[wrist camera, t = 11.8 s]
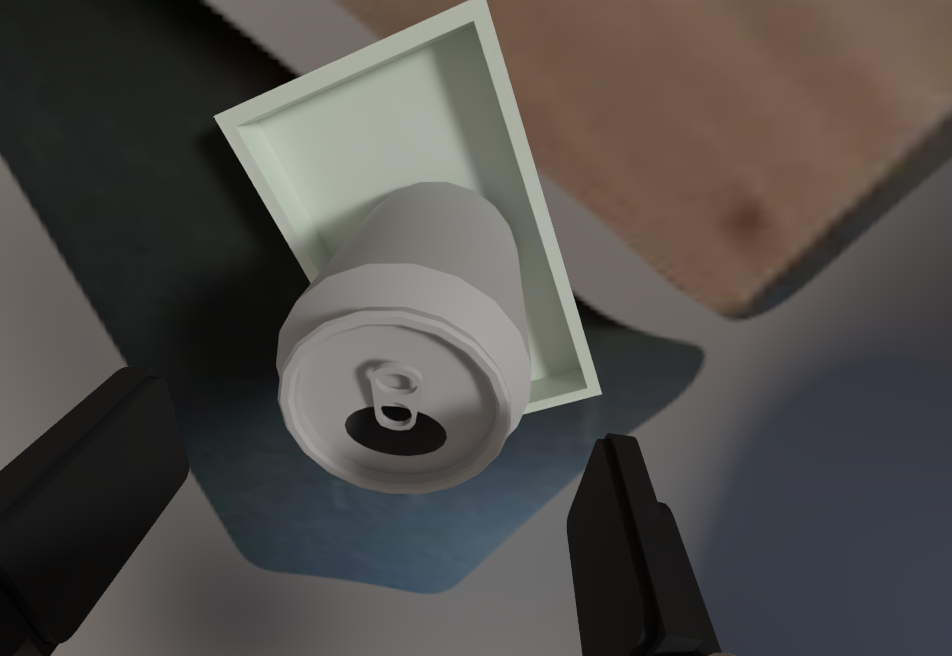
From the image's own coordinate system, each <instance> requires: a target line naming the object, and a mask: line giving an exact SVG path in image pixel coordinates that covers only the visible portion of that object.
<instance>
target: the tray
mask: <svg viewBox="0 0 952 656" xmlns="http://www.w3.org/2000/svg"><path fill="white" fill-rule="evenodd" d="M214 118H215V119H216V121H217V123H218V125H219V126H220V128H221V130H222V131H223V133H224V135H225V137H226V138H227V140H228V142H229V143H230V145H231V147H232V149H233V150H234V152H235V154H236V156H237V157H238V159H239V161H240V162H241V164H242V166H243V168H244V169H245V171H246V173H247V174H248V176H249V178H250V180H251V181H252V183H253V185H254V186H255V188H256V190H257V192H258V193H259V195H260V197H261V198H262V200H263V202H264V204H265V205H266V207H267V209H268V210H269V212H270V214H271V216H272V217H273V219H274V221H275V222H276V224H277V226H278V228H279V229H280V231H281V233H282V234H283V236H284V238H285V240H286V241H287V243H288V245H289V247H290V248H291V250H292V252H293V253H294V255H295V257H296V259H297V260H298V262H299V264H300V265H301V267H302V269H303V271H304V272H305V274H306V276H307V277H308V279H309V281H310V283H312V282H313V281H314V280H315V278H316V277H317V276H318V275H319V274H320V272H321V271H322V270H323V269H324V268H325V266H326V265H327V264H328V263H329V262H330V260H331V259H332V258H333V257H334V256H335V254H336V253H337V252H338V251H339V250H340V248H341V247H342V246H343V245H344V244H345V242H346V241H347V240H348V239H349V238H350V236H351V235H352V234H353V233H354V232H355V230H356V229H357V228H358V227H359V226H360V224H361V223H362V222H363V221H364V220H365V218H366V217H367V216H368V215H369V214H370V212H371V211H372V210H373V209H374V208H375V207H376V206H377V205H378V204H379V203H381V202H382V201H383V200H384V199H385V198H387V197H388V196H389V195H390V194H392V193H393V192H394V191H396V190H399V189H402V188H404V187H407V186H410V185H413V184H416V183H418V182H449V183H452V184H455V185H458V186H461V187H465V188H468V189H471V190H473V191H475V192H476V193H478V194H479V195H480V196H482V197H483V198H485V199H486V200H487V201H489V202H490V203H492V204H493V205H494V206H495V207H496V208H497V210H498V211H499V212H500V214H501V215H502V216H503V218H504V219H505V221H506V222H507V223H508V225H509V226H510V228H511V231H512V234H513V238H514V241H515V244H516V247H517V250H518V258H519V266H520V275H521V283H522V291H523V299H524V308H525V316H526V324H527V332H528V341H529V349H530V357H531V365H532V367H531V388H530V400H529V402H528V404H527V406H526V408H525V410H524V413H523V414H526V413H530V412H534V411H538V410H542V409H546V408H550V407H553V406H557V405H561V404H565V403H569V402H573V401H577V400H581V399H585V398H589V397H593V396H596V395H600V394H602V393H601V389H600V386H599V382H598V379H597V376H596V372H595V369H594V365H593V362H592V359H591V355H590V352H589V348H588V345H587V342H586V338H585V335H584V331H583V328H582V325H581V321H580V318H579V314H578V311H577V308H576V304H575V301H574V297H573V294H572V291H571V287H570V284H569V280H568V277H567V274H566V270H565V267H564V263H563V260H562V257H561V253H560V250H559V246H558V243H557V240H556V236H555V233H554V229H553V226H552V223H551V219H550V216H549V212H548V209H547V206H546V202H545V199H544V196H543V192H542V189H541V185H540V182H539V178H538V175H537V172H536V168H535V165H534V161H533V158H532V155H531V151H530V148H529V144H528V141H527V138H526V134H525V131H524V127H523V124H522V121H521V117H520V114H519V110H518V107H517V104H516V100H515V97H514V93H513V90H512V87H511V83H510V80H509V76H508V73H507V70H506V66H505V63H504V59H503V56H502V53H501V49H500V46H499V42H498V39H497V36H496V32H495V29H494V25H493V22H492V19H491V15H490V12H489V8H488V5H487V2H486V0H469V1H466V2H464V3H462V4H460V5H458V6H455V7H453V8H451V9H449V10H447V11H444V12H442V13H440V14H438V15H436V16H433V17H431V18H429V19H427V20H425V21H422V22H420V23H418V24H416V25H414V26H411V27H409V28H407V29H405V30H403V31H400V32H398V33H396V34H394V35H392V36H389V37H387V38H385V39H383V40H381V41H378V42H376V43H374V44H372V45H370V46H367V47H365V48H363V49H361V50H359V51H356V52H355V53H352V54H350V55H348V56H345V57H343V58H341V59H339V60H337V61H334V62H332V63H330V64H328V65H326V66H323V67H321V68H319V69H317V70H315V71H312V72H310V73H308V74H306V75H304V76H301V77H299V78H297V79H295V80H293V81H290V82H288V83H286V84H284V85H282V86H279V87H277V88H275V89H273V90H271V91H268V92H266V93H264V94H262V95H259V96H257V97H255V98H253V99H251V100H248V101H246V102H244V103H242V104H240V105H237V106H235V107H233V108H231V109H229V110H226V111H224V112H222V113H220V114H218V115H215V116H214Z"/></svg>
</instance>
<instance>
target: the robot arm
mask: <svg viewBox="0 0 952 656" xmlns="http://www.w3.org/2000/svg"><path fill="white" fill-rule="evenodd" d="M188 472H189V461H188V458H187V454H186V451H185V447H184V443H183V440H182V436H181V433H180V429H179V426H178V422H177V418H176V415H175V411H174V408H173V404H172V401H171V397H170V393H169V390H168V386H167V383H166V381H165V380H164V379H161V378H160V376H159V374H158V373H157V372H156V371H152V370H145V369H137V368H130V367H124V368H121V369H120V370H118V371H117V372H115V373H114V374H113V375H112V376H111V377H110V378H108V379H107V380H106V381H105V382H104V383H103V384H101V385H100V386H99V387H98V388H97V389H96V390H94V391H93V392H92V393H91V394H90V395H88V396H87V397H86V398H85V399H84V400H83V401H82V402H80V403H79V404H78V405H77V406H76V407H74V409H72V410H71V411H70V412H69V413H68V414H66V415H65V416H64V417H63V418H62V419H60V421H58V422H57V423H56V424H55V425H54V426H52V427H51V428H50V429H49V430H48V431H46V432H45V433H44V434H43V435H42V436H41V437H39V438H38V439H37V440H36V441H35V442H34V443H32V444H31V445H30V446H29V447H28V448H27V449H25V450H24V451H23V452H22V453H21V454H20V455H18V456H17V457H16V458H15V459H14V460H13V461H11V462H10V463H9V464H8V465H7V466H5V467H4V468H3V469H2V470H1V471H0V656H50V655H51V654H52V652H53V651H54V650H55V648H56V647H57V646H58V644H59V643H63V642H65V641H67V640H68V639H69V638H70V637H72V635H73V634H74V633H75V632H76V631H77V629H78V628H79V627H80V625H81V624H82V622H83V621H84V620H85V618H86V617H87V615H88V614H89V613H90V611H91V610H92V608H93V607H94V606H95V604H96V603H97V601H98V600H99V599H100V598H101V596H102V595H103V593H104V592H105V591H106V589H107V588H108V586H109V585H110V583H111V582H112V581H113V580H114V578H115V577H116V575H117V574H118V573H119V571H120V570H121V569H122V567H123V566H124V564H125V563H126V562H127V560H128V559H129V557H130V556H131V555H132V553H133V552H134V550H135V549H136V548H137V546H138V545H139V544H140V542H141V541H142V540H143V538H144V537H145V535H146V534H147V533H148V531H149V530H150V529H151V527H152V526H153V524H154V523H155V522H156V520H157V519H158V517H159V516H160V515H161V513H162V512H163V511H164V509H165V508H166V506H167V505H168V503H169V502H170V501H171V500H172V498H173V497H174V495H175V494H176V492H177V491H178V490H179V488H180V487H181V486H182V484H183V483H184V481H185V480H186V478H187V476H188ZM567 535H568V544H569V552H570V560H571V567H572V576H573V583H574V591H575V599H576V607H577V615H578V623H579V631H580V638H581V646H582V654H583V656H735V655H732V654H729V653H722V652H721V649H720V646H719V643H718V640H717V638H716V635H715V632H714V629H713V626H712V623H711V621H710V618H709V615H708V612H707V609H706V607H705V604H704V601H703V598H702V595H701V593H700V590H699V587H698V584H697V581H696V578H695V575H694V573H693V570H692V567H691V564H690V561H689V559H688V556H687V553H686V550H685V547H684V544H683V542H682V539H681V536H680V533H679V531H678V527H677V525H676V522H675V519H674V516H673V514H672V512H671V510H670V508H669V507H668V506H667V505H666V504H664V503H661V502H657V499H656V496H655V493H654V490H653V487H652V484H651V481H650V478H649V475H648V472H647V469H646V465H645V462H644V459H643V456H642V453H641V450H640V447H639V444H638V442H637V439H636V438H635V437H632V436H625V435H618V434H610V433H608V434H607V435H606V436H605V438H604V439H597V441H596V443H595V445H594V448H593V451H592V453H591V456H590V458H589V461H588V464H587V466H586V469H585V472H584V474H583V477H582V480H581V482H580V485H579V487H578V490H577V493H576V495H575V498H574V501H573V503H572V506H571V509H570V511H569V514H568V518H567Z"/></svg>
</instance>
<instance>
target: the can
mask: <svg viewBox="0 0 952 656" xmlns="http://www.w3.org/2000/svg"><path fill="white" fill-rule="evenodd" d="M276 366H277V370H278V374H279V377H280V382H279V391H278V401H279V405H280V408H281V412H282V415H283V419H284V422H285V426H286V428H287V429H288V430H289V432H290V433H291V435H292V436H293V437H294V439H295V440H296V442H297V443H298V445H299V446H300V447H301V449H302V450H303V452H305V453H306V454H307V455H308V456H309V457H311V458H312V459H313V460H314V461H316V462H317V463H318V464H319V465H320V466H322V467H323V468H324V469H325V470H327V471H328V472H329V473H331V474H333V475H335V476H337V477H340V478H342V479H344V480H346V481H348V482H350V483H352V484H354V485H356V486H359V487H363V488H367V489H371V490H376V491H380V492H384V493H388V494H424V493H429V492H434V491H438V490H443V489H447V488H452V487H454V486H456V485H458V484H460V483H462V482H464V481H466V480H468V479H470V478H472V477H474V476H476V475H478V474H480V473H481V472H482V471H483V470H484V469H485V468H486V467H487V466H488V465H489V464H490V463H491V462H492V461H493V460H494V459H495V458H496V457H497V456H498V455H499V453H500V451H501V449H502V447H503V445H504V442H505V440H506V438H507V436H508V435H509V434H510V433H511V432H512V431H513V430H514V429H515V428H516V427H517V426H518V423H519V421H520V419H521V417H522V415H523V413H524V410H525V408H526V406H527V404H528V402H529V400H530V388H531V367H532V365H531V357H530V349H529V341H528V332H527V324H526V316H525V308H524V299H523V291H522V283H521V275H520V266H519V258H518V250H517V247H516V244H515V241H514V238H513V234H512V231H511V228H510V226H509V225H508V223H507V222H506V221H505V219H504V218H503V216H502V215H501V214H500V212H499V211H498V210H497V208H496V207H495V206H494V205H493V204H492V203H490V202H489V201H487V200H486V199H485V198H483V197H482V196H480V195H479V194H478V193H476V192H475V191H473V190H471V189H468V188H465V187H461V186H458V185H455V184H452V183H449V182H418V183H416V184H413V185H410V186H407V187H404V188H402V189H399V190H396V191H394V192H393V193H392V194H390V195H389V196H388V197H387V198H385V199H384V200H383V201H382V202H381V203H379V204H378V205H377V206H376V207H375V208H374V209H373V210H372V211H371V212H370V214H369V215H368V216H367V217H366V218H365V220H364V221H363V222H362V223H361V224H360V226H359V227H358V228H357V229H356V230H355V232H354V233H353V234H352V235H351V236H350V238H349V239H348V240H347V241H346V242H345V244H344V245H343V246H342V247H341V248H340V250H339V251H338V252H337V253H336V254H335V256H334V257H333V258H332V259H331V260H330V262H329V263H328V264H327V265H326V266H325V268H324V269H323V270H322V271H321V272H320V274H319V275H318V276H317V277H316V278H315V280H314V281H313V282H312V283H311V284H310V286H309V287H308V288H307V289H306V290H305V292H304V293H303V294H302V295H301V296H300V298H299V299H298V300H297V301H296V303H295V305H294V307H293V308H292V310H291V312H290V314H289V316H288V317H287V319H286V321H285V323H284V324H283V326H282V328H281V330H280V332H279V341H278V351H277V360H276Z"/></svg>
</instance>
